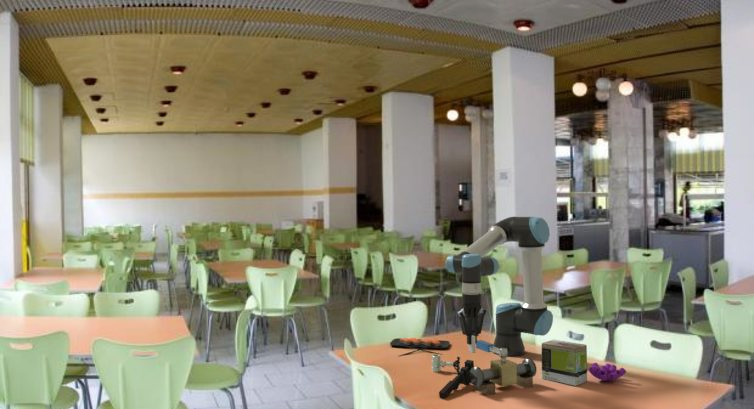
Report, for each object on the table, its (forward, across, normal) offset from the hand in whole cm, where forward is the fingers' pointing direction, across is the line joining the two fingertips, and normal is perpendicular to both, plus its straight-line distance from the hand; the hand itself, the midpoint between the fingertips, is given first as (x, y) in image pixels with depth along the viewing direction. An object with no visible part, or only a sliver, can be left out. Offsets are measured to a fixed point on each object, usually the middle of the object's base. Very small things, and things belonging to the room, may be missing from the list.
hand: (471, 352), depth 238 cm
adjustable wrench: (+12, -11, -5) cm, 17 cm away
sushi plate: (+13, +6, +55) cm, 56 cm away
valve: (+12, -2, +17) cm, 21 cm away
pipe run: (+12, +6, -12) cm, 18 cm away
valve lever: (0, +6, -5) cm, 8 cm away
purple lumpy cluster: (+12, +48, -24) cm, 55 cm away
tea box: (+12, +34, -15) cm, 39 cm away
